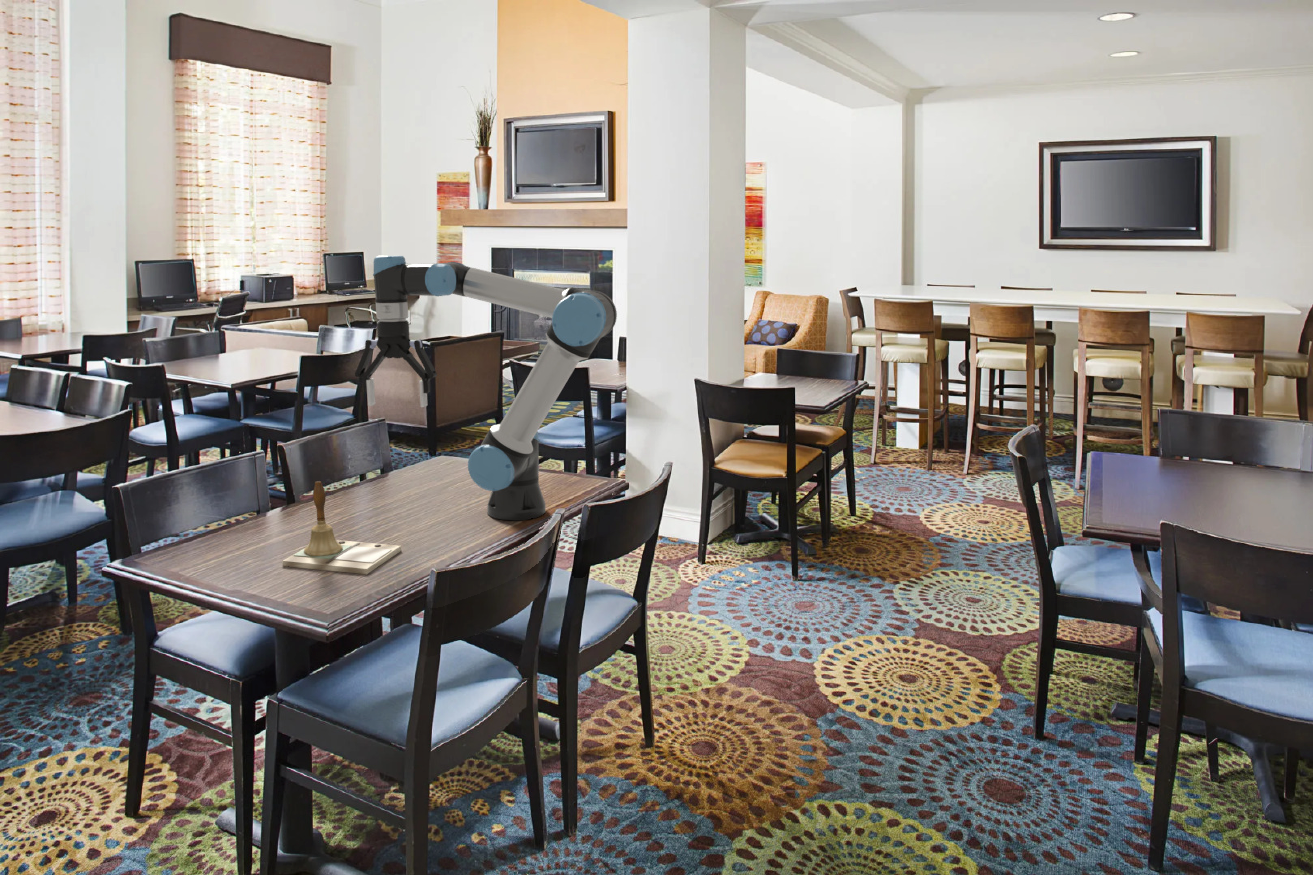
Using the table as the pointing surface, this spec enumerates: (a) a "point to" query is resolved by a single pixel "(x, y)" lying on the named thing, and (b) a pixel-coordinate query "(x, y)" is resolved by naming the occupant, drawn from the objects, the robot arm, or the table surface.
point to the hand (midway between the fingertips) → (397, 405)
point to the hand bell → (321, 529)
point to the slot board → (346, 558)
